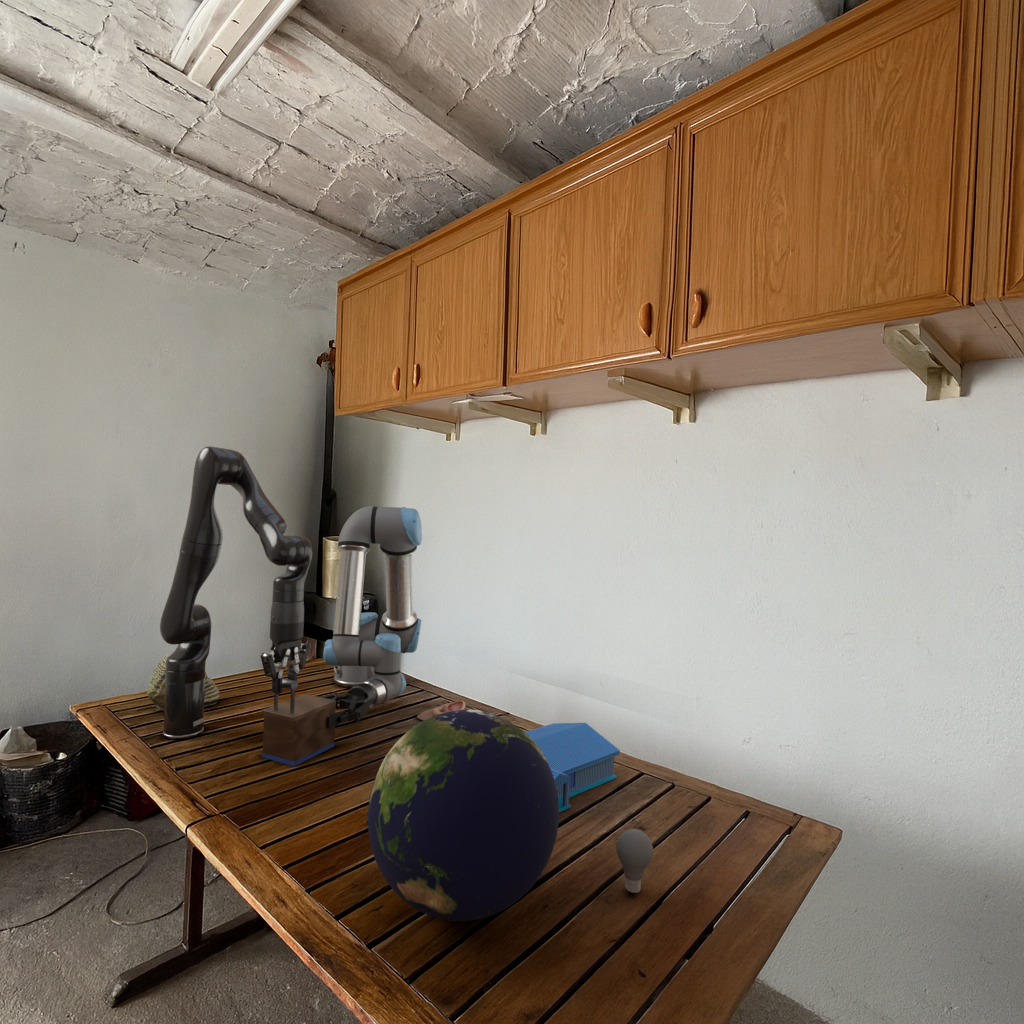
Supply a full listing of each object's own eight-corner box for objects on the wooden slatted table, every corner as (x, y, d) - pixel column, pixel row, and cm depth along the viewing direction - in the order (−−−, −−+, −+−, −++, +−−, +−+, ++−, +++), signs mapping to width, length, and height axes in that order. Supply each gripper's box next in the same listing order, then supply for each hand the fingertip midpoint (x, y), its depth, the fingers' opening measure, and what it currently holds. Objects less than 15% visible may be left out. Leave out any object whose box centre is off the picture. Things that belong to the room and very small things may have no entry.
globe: (322, 932, 92) (330, 728, 92) (425, 835, 120) (432, 678, 119) (512, 1001, 81) (522, 769, 81) (577, 877, 109) (585, 703, 108)
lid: (293, 721, 147) (294, 684, 147) (261, 713, 151) (262, 677, 151) (335, 704, 160) (337, 670, 160) (305, 697, 165) (306, 664, 165)
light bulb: (610, 879, 108) (613, 822, 108) (644, 879, 109) (647, 822, 109) (619, 902, 102) (622, 840, 102) (655, 901, 103) (658, 840, 103)
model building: (501, 837, 120) (504, 785, 120) (427, 790, 139) (429, 744, 138) (628, 782, 147) (630, 739, 147) (552, 748, 165) (553, 710, 165)
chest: (294, 766, 148) (296, 720, 148) (262, 757, 152) (263, 713, 152) (334, 746, 161) (335, 704, 160) (303, 738, 165) (305, 697, 165)
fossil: (144, 707, 182) (145, 655, 182) (212, 696, 194) (213, 647, 194) (151, 716, 175) (153, 662, 175) (221, 703, 188) (223, 653, 188)
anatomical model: (413, 707, 181) (426, 695, 192) (412, 720, 181) (426, 708, 192) (457, 712, 178) (468, 699, 189) (457, 726, 178) (468, 713, 189)
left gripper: (276, 626, 143) (273, 701, 143) (320, 616, 156) (317, 686, 156) (252, 622, 146) (249, 696, 146) (296, 613, 159) (294, 681, 159)
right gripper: (398, 716, 175) (346, 742, 155) (334, 702, 185) (276, 725, 165) (399, 689, 175) (347, 712, 155) (335, 676, 185) (277, 696, 164)
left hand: (284, 690), depth 151 cm, fingers open, 4 cm apart
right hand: (311, 719), depth 160 cm, fingers closed on chest, 10 cm apart
